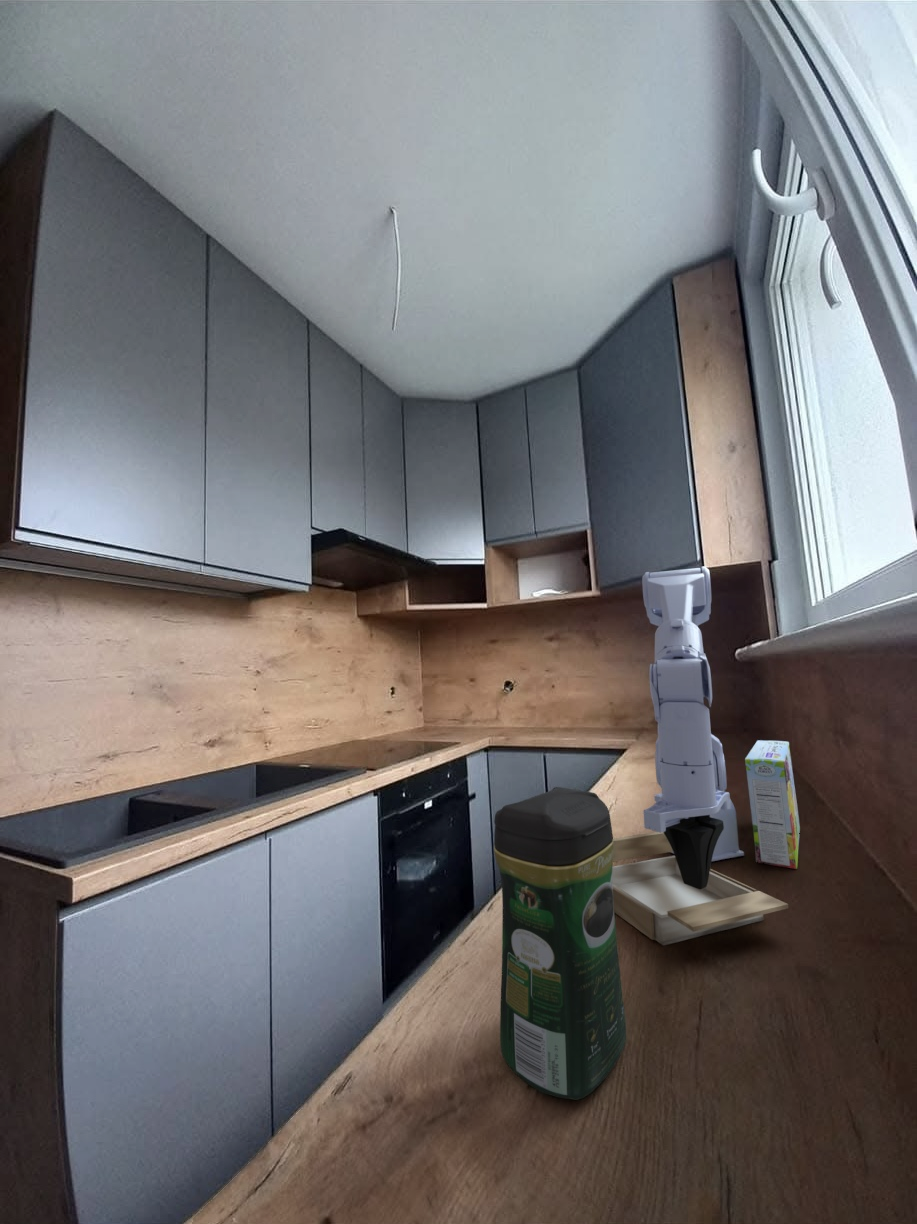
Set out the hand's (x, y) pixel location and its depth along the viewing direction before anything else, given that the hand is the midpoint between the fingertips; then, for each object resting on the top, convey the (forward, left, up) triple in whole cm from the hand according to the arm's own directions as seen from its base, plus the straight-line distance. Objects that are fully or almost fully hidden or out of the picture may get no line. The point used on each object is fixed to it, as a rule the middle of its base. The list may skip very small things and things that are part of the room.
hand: (695, 885), depth 55 cm
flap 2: (0, +2, -1) cm, 2 cm away
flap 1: (0, -10, -1) cm, 10 cm away
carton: (0, -4, -4) cm, 6 cm away
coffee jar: (+24, +11, -4) cm, 27 cm away
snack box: (-31, -14, -4) cm, 34 cm away
